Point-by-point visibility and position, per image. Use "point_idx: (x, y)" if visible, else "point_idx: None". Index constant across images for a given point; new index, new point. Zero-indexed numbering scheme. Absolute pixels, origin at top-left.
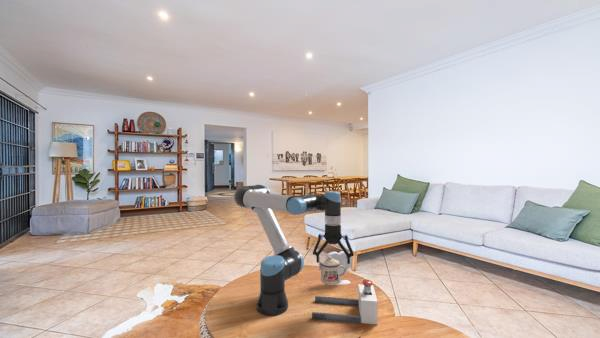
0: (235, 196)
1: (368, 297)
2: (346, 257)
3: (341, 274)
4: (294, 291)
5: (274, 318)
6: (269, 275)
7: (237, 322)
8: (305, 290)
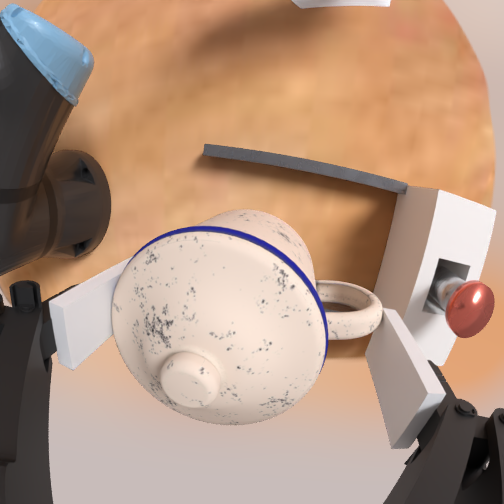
0: None
1: (428, 337)
2: (403, 443)
3: (337, 283)
4: (133, 76)
5: (87, 269)
6: None
7: (28, 279)
8: (177, 59)
